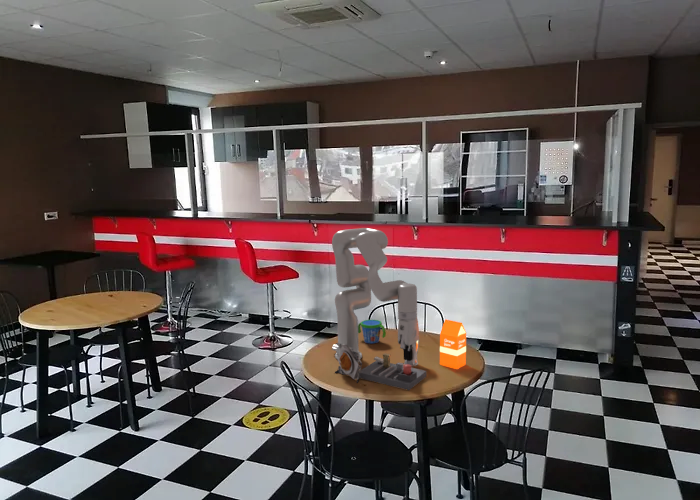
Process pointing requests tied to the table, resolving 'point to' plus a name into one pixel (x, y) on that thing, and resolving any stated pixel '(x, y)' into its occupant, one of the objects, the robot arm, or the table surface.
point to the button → (407, 369)
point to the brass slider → (386, 360)
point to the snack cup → (371, 330)
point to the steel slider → (399, 366)
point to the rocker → (378, 359)
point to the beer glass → (414, 355)
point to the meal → (348, 361)
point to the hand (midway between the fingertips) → (408, 359)
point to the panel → (392, 375)
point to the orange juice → (453, 344)
